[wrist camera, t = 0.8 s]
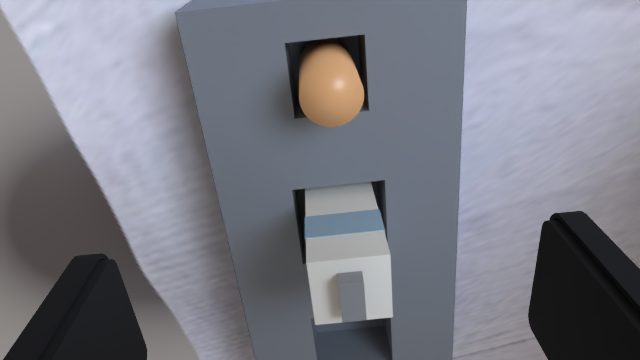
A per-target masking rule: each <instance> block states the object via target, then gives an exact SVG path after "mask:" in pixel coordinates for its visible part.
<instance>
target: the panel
mask: <svg viewBox="0 0 640 360" xmlns="http://www.w3.org/2000/svg"><path fill="white" fill-rule="evenodd" d="M466 12H467V0H192V1H190V2H189V3H187V4H186V5H185V6H183V7H182V8H180V9H179V10H177V11H176V12H175V15H176V20H177V24H178V28H179V32H180V37H181V41H182V45H183V50H184V54H185V58H186V63H187V67H188V71H189V75H190V80H191V84H192V88H193V93H194V97H195V101H196V106H197V110H198V114H199V118H200V123H201V127H202V131H203V136H204V140H205V144H206V148H207V153H208V157H209V161H210V166H211V170H212V174H213V179H214V183H215V187H216V191H217V196H218V200H219V204H220V209H221V213H222V217H223V222H224V226H225V230H226V234H227V239H228V243H229V247H230V252H231V256H232V260H233V265H234V269H235V273H236V277H237V282H238V286H239V290H240V295H241V299H242V303H243V307H244V312H245V316H246V320H247V325H248V329H249V333H250V338H251V342H252V346H253V350H254V355H255V359H256V360H452V351H453V327H454V303H455V278H456V254H457V230H458V206H459V181H460V157H461V133H462V109H463V84H464V60H465V36H466ZM327 38H336V39H338V40H340V41H342V42H343V43H344V44H345V45H346V46H347V48H348V49H349V51H350V54H351V56H352V59H353V61H354V64H355V67H356V69H357V72H358V75H359V77H360V80H361V82H362V85H363V89H364V102H363V105H362V107H361V110H360V111H359V113H358V114H357V115H356V117H355V118H354V119H352V120H351V121H350V122H348V123H346V124H344V125H342V126H338V127H324V126H320V125H318V124H316V123H314V122H312V121H311V120H310V119H308V118H307V116H306V115H305V114H304V112H303V111H302V109H301V106H300V102H299V60H300V55H301V52H302V51H303V49H304V47H305V46H306V45H307V44H308V43H309V42H310V41H312V40H318V39H327ZM362 182H371V184H372V188H373V192H374V195H375V199H376V203H377V206H378V209H379V210H380V213H381V217H382V221H383V224H384V228H385V236H386V240H387V243H388V247H389V251H390V254H391V280H392V306H393V317H391V318H381V319H371V320H361V321H351V322H341V323H331V324H321V325H315V320H314V313H313V306H312V299H311V292H310V285H309V278H308V271H307V264H306V243H305V217H306V213H305V188H315V187H324V186H334V185H343V184H353V183H362Z"/></svg>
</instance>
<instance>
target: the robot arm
mask: <svg viewBox="0 0 640 360" xmlns="http://www.w3.org/2000/svg"><path fill="white" fill-rule="evenodd" d="M528 317H529V324H530V327H531V330H532V332H533V333H534V335H535V337H536V339H537V341H538V342H539V344H540V346H541V348H542V350H543V351H544V353H545V355H546V357H547V359H548V360H640V269H639V268H638V267H637V266H636V265H635V264H634V263H633V262H632V261H631V260H630V259H629V258H628V257H627V256H626V255H625V254H624V253H623V252H622V251H621V249H620V248H619V247H618V246H617V245H616V244H615V243H614V242H613V241H612V240H611V239H610V238H609V237H608V236H607V235H606V234H605V233H604V232H603V231H602V230H601V229H600V228H599V227H598V226H597V225H596V224H595V223H594V222H593V221H592V220H591V219H590V217H589V216H588V215H587V214H585V213H584V212H582V211H575V212H564V213H554V214H553V215H552V216H551V217H550V220H549V221H545V222H544V223H543V225H542V230H541V236H540V242H539V249H538V255H537V262H536V268H535V274H534V281H533V287H532V294H531V300H530V306H529V313H528ZM3 360H147V348H146V344H145V342H144V339H143V336H142V333H141V330H140V327H139V325H138V322H137V319H136V316H135V313H134V311H133V308H132V305H131V302H130V300H129V297H128V294H127V291H126V289H125V286H124V283H123V280H122V278H121V274H120V272H119V269H118V266H117V264H116V262H115V261H114V260H112V259H110V260H109V259H108V257H107V256H106V255H105V254H92V255H80V256H76V257H74V258H73V259H72V261H71V262H70V263H69V265H68V266H67V268H66V269H65V271H64V272H63V273H62V275H61V276H60V278H59V280H58V281H57V282H56V284H55V285H54V287H53V288H52V290H51V291H50V292H49V294H48V295H47V297H46V298H45V300H44V301H43V303H42V304H41V305H40V307H39V308H38V310H37V311H36V313H35V314H34V316H33V317H32V319H31V320H30V322H29V323H28V324H27V326H26V327H25V329H24V330H23V332H22V333H21V334H20V336H19V338H18V339H17V340H16V342H15V343H14V345H13V346H12V347H11V349H10V351H9V352H8V353H7V355H6V356H5V358H4V359H3Z"/></svg>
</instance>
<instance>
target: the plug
mask: <svg viewBox="0 0 640 360" xmlns="http://www.w3.org/2000/svg"><path fill="white" fill-rule="evenodd" d="M305 213H306V217H305V243H306V264H307V271H308V278H309V285H310V292H311V299H312V306H313V313H314V320H315V325H321V324H331V323H341V322H351V321H361V320H371V319H381V318H391V317H393V306H392V280H391V254H390V251H389V247H388V243H387V240H386V236H385V228H384V224H383V221H382V217H381V213H380V210H379V209H378V206H377V203H376V199H375V195H374V192H373V188H372V184H371V182H362V183H353V184H343V185H334V186H324V187H315V188H305Z"/></svg>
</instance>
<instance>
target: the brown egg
mask: <svg viewBox="0 0 640 360" xmlns="http://www.w3.org/2000/svg"><path fill="white" fill-rule="evenodd" d="M299 102H300V106H301V109H302V111H303V112H304V114H305V115H306V116H307V118H308V119H310V120H311V121H312V122H314V123H316V124H318V125H320V126H324V127H338V126H342V125H344V124H346V123H348V122H350V121H351V120H352V119H354V118H355V117H356V115H357V114H358V113H359V111H360V110H361V107H362V105H363V102H364V89H363V85H362V82H361V80H360V77H359V75H358V72H357V69H356V67H355V64H354V61H353V59H352V56H351V54H350V51H349V49H348V48H347V46H346V45H345V44H344V43H343V42H342V41H340V40H338V39H336V38H327V39H318V40H312V41H310V42H309V43H308V44H307V45H306V46H305V47H304V49H303V51H302V52H301V55H300V60H299Z"/></svg>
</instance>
